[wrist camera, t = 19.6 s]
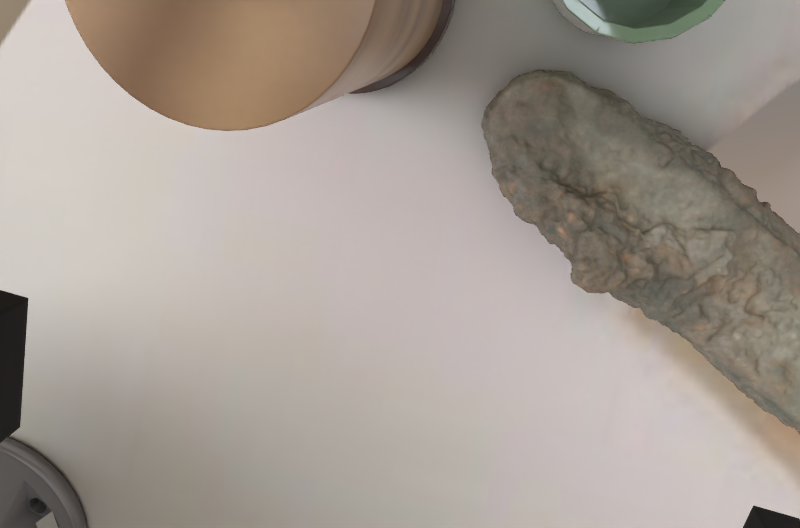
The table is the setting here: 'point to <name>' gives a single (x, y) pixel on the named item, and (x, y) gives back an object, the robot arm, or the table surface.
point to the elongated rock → (655, 227)
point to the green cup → (637, 17)
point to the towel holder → (256, 52)
